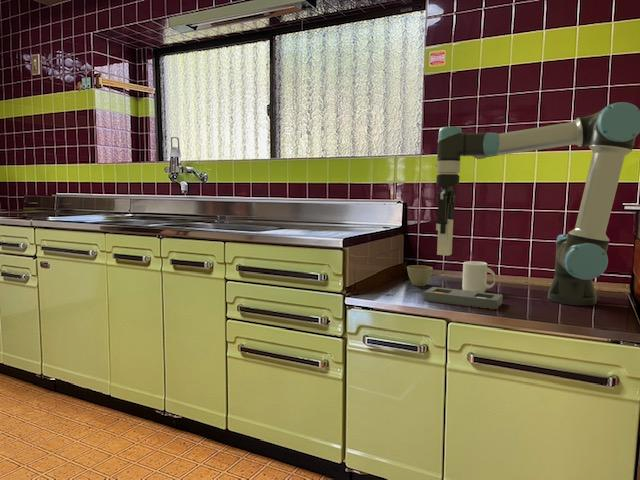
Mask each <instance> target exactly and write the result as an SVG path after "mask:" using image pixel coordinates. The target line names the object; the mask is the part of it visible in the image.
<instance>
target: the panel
mask: <svg viewBox="0 0 640 480" xmlns="http://www.w3.org/2000/svg"><path fill="white" fill-rule="evenodd" d="M503 297H504V296H503V294H501V293H490V292H484V293H483V292H474V291H465V290H463V289H455V288H454V289H453V288H446V287H437V286H432V287H429V288H428V289H427V290H425V291H423V301H425V302H432V303H433V302H434V303H441V304H448V305H449V304H450V305H457V306H464V307H471V306H472V307H473V308H479V307H480V308H482V309H486V308H489V309H488V310H494V309H497V308H498V307H499V306H501V305H502V304H503ZM472 307H471V308H472ZM499 308H500V307H499ZM499 308H498V309H499ZM498 309H497V310H498Z"/></svg>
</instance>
